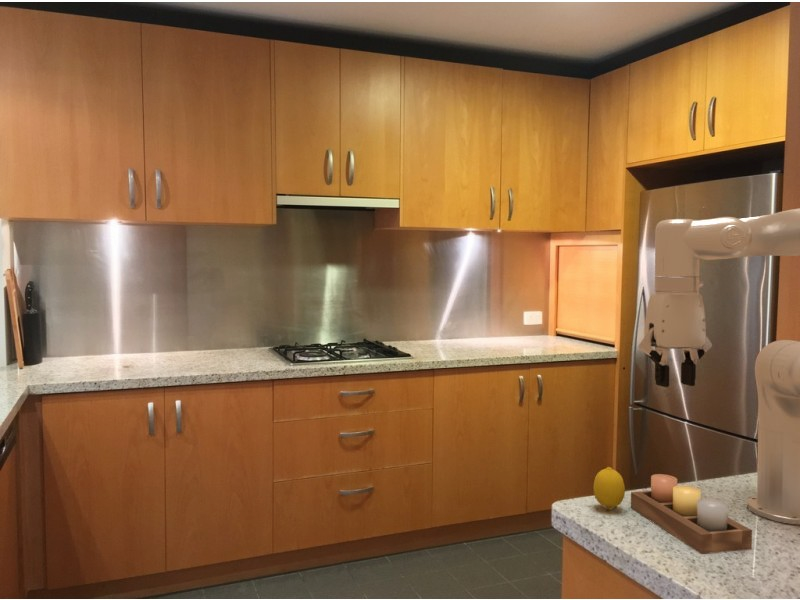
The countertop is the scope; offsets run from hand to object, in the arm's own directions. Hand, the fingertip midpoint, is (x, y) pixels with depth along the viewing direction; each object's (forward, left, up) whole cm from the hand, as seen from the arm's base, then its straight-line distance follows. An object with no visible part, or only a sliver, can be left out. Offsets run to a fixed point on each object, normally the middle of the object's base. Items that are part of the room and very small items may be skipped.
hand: (675, 384), depth 118 cm
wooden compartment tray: (+3, +8, -23) cm, 25 cm away
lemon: (+12, -2, -24) cm, 27 cm away
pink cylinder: (+3, +2, -21) cm, 22 cm away
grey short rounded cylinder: (+3, +14, -21) cm, 26 cm away
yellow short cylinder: (+3, +8, -21) cm, 23 cm away
